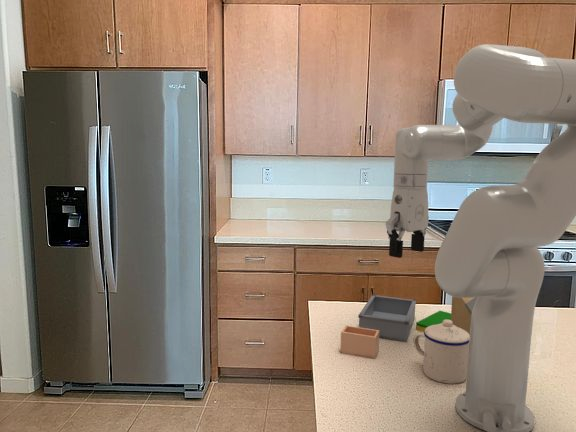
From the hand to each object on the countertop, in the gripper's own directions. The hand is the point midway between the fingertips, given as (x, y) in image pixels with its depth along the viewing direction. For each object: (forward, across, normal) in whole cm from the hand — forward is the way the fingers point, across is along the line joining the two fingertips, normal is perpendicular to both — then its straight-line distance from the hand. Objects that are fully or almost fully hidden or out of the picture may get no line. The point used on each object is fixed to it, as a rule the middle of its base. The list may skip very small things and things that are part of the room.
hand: (406, 253), depth 106 cm
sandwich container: (+22, +11, -16) cm, 30 cm away
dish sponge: (+23, +17, -1) cm, 28 cm away
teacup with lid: (+22, -8, -13) cm, 27 cm away
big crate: (+22, +7, +8) cm, 25 cm away
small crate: (+22, -12, +4) cm, 26 cm away
